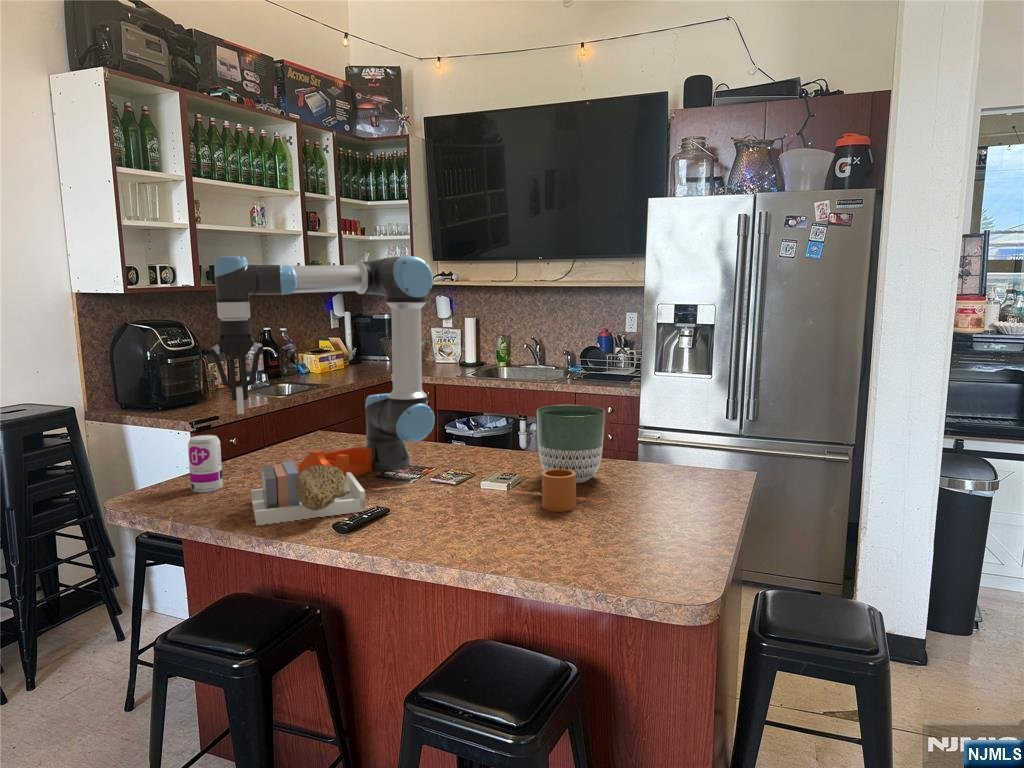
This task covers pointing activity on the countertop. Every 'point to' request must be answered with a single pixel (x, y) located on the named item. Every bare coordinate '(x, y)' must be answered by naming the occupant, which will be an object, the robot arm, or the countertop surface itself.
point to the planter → (571, 438)
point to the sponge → (320, 486)
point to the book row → (286, 484)
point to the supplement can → (205, 463)
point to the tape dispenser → (341, 460)
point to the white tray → (298, 512)
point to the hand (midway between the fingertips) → (240, 413)
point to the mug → (558, 490)
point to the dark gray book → (269, 487)
